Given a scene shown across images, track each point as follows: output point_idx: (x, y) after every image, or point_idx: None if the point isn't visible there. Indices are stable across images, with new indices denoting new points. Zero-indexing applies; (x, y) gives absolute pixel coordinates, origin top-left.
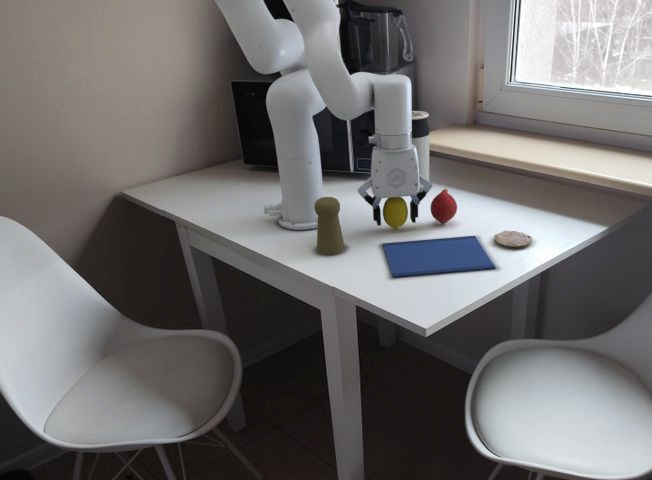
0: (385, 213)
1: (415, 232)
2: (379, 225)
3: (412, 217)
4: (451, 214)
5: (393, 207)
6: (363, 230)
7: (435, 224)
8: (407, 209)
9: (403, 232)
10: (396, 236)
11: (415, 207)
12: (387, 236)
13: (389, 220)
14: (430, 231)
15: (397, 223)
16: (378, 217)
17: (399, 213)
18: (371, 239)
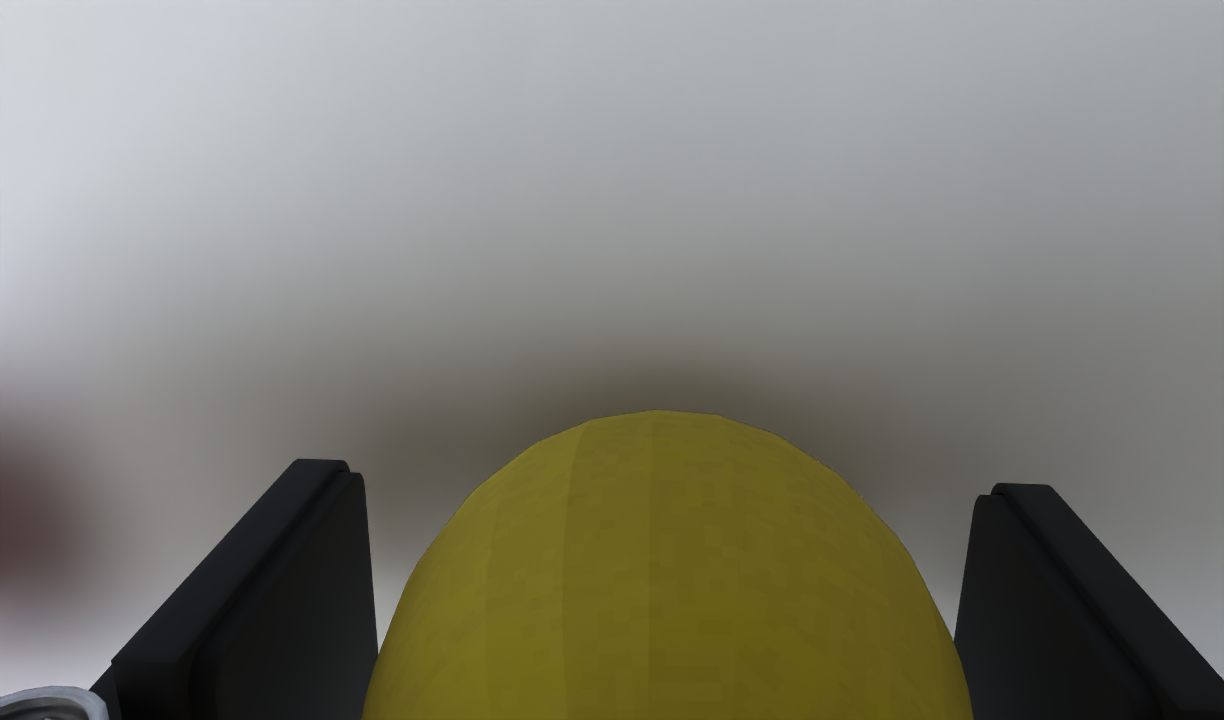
0: (943, 624)
1: (365, 324)
2: (1009, 484)
3: (324, 515)
4: None
5: (775, 630)
6: (1186, 600)
7: (34, 554)
8: (373, 677)
9: (561, 370)
10: (708, 229)
11: (141, 631)
12: (862, 266)
13: (835, 475)
14: (117, 307)
15: (664, 410)
16: (1101, 567)
17: (607, 489)
18: (1176, 198)
